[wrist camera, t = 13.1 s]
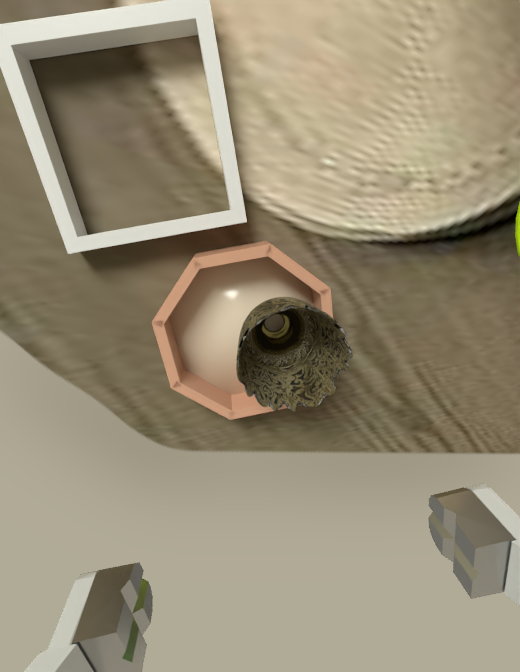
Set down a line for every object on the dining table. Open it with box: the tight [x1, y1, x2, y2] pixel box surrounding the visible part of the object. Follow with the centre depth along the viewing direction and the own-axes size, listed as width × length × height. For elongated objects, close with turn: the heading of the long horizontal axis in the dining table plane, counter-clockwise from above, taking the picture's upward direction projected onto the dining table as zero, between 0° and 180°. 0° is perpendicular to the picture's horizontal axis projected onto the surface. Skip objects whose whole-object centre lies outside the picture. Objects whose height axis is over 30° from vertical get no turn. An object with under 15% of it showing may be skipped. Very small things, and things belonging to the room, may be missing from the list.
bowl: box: [152, 241, 333, 420], centre depth 27 cm, size 14×14×4 cm
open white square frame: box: [0, 0, 247, 254], centre depth 23 cm, size 13×13×2 cm
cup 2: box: [236, 297, 352, 412], centre depth 25 cm, size 8×7×8 cm
